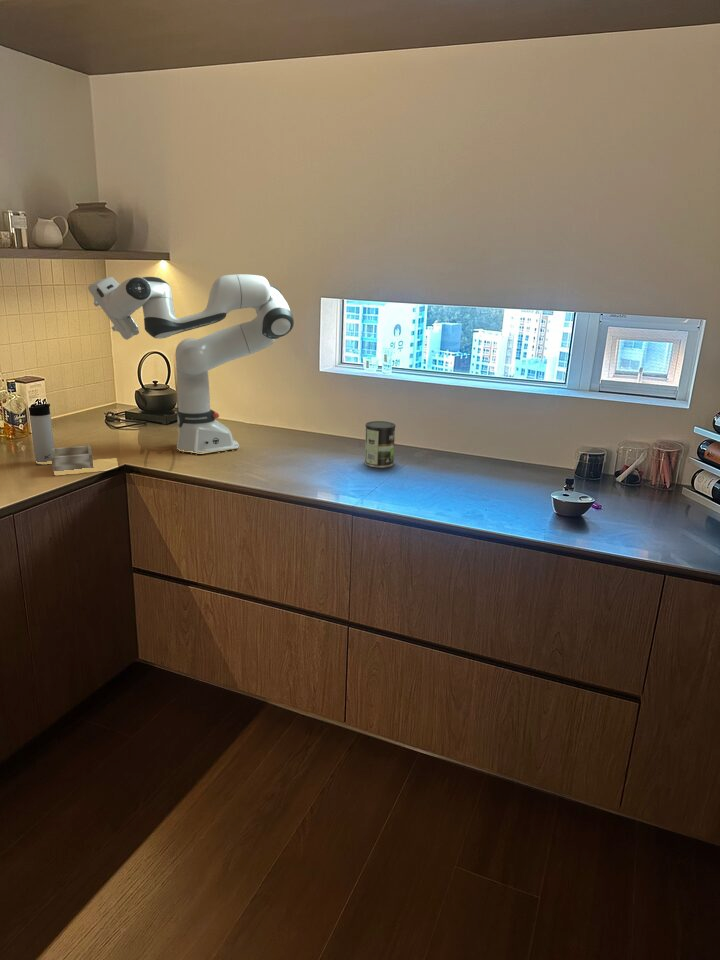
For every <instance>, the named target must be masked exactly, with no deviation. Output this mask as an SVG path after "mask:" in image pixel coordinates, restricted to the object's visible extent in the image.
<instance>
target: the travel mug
mask: <svg viewBox="0 0 720 960" xmlns="http://www.w3.org/2000/svg"><path fill="white" fill-rule="evenodd" d="M50 407H51V403H39V404H34V405H32V406H29V407H28V412H29V415H28V416H29V422H30V430H31V438H32V444H33V452H34V458H35V461H37V462H47V461H52V460H51V449H52V448H55V441H54V440H55V439H54V433H53V432H54V431H53V423H52V416H51V411H50V410H51V409H50Z"/></svg>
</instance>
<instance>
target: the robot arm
mask: <svg viewBox="0 0 720 960" xmlns="http://www.w3.org/2000/svg"><path fill="white" fill-rule="evenodd" d="M87 289H88V292H89V293H90V294H91V295H92V298H93V300H94V301H93V305H94V306H95V307H100V308H101V309H102V310H103V312H104V314H106V316H107V318H108V319H109V320H110V321H111V323H112V325H113V326H112V327H111V330H112V332H117V333H119V334H120V336H121V337H122V339H124V340H126V341H128V340H129V339H131V338H132V337H134V336H138V335H139V334H140V330H139V329H140V328H139V326H138V323H136V321H135V320H134V318H133V317H132V315H133V314H134V313H135V312H136V311H138V310H140V308H142V313H143V322H144V331H145V332H146V333H147V334H148V335H150V336H151V337H152V338H153V339H158V340H161V339H166V338H169V337H172V336H174V335H178V334H180V333H183V332H188V331H191V330H194V329H198V328H203V327H206V326H210V325H213V324H216V323H218V322H221V321H223V320H224V319H225V318H226V317H227V314H228V313H230V312H232V311H234V310H240V309H248V308H251V309H255V310H254V311H255V312H256V317H254V318H253V319H252V320H250V321H246V322H243V323H239V324H236V325H232V326H230V327H226V328H223V329H219V330H218V331H215V332H213V333H211V334H208V335H206V336H202V337H201V338H198V339H196V338H191V337H190V338H184V339H183V340H181V341H180V342H179V343H178V344H177V346H176V348H175V353H174V354H175V355H174V356H175V357H174V358H175V367H176V368H175V369H176V389H177V391H176V392H177V406H178V409H177V412H176V413H177V414H176V416H177V417H176V418H177V425H178V436H177V441H176V442H177V443H176V447H177V448H178V449H180V450H184V451H193V452H197V453H203V452H202V451H205V452H210V451H218V450H226V449H234V448H238V447H239V448H240V444H239V442H238V441H237V440H235V439H234V438H233V434H232V432H231V429H229V427H227V426H225V424H223V423H221V421H219V420H217V419H219V417H220V414H219V413H218V412H217V411H215V410H213V409H211V401H210V400H211V399H210V385H209V384H210V381H209V371H210V370H212V369H214V368H217V367H220V366H221V365H224V364H226V363H228V362H231V361H235V360H237V359H240V358H243V357H247V356H249V355H253V354H255V353H257V352H260V351H262V350H264V349H266V348H268V347H270V346H272V345H273V343H274V342H275V341H276V340H277V339H280V338H282V337H284V336H286V335H288V334H289V333H290V332H291V331H292V330H293V328H294V323H295V321H294V315H293V312H292V311H291V309H290V306H289V303H288V302H287V301H286V299H285V298H284V296H283V294H282V292H281V290H279V289H278V287H276V286H275V285H273V284H271V283H269V280H268V279H267V278H266V277H265V276H262V275H258V274H246V273H243V274H242V273H241V274H240V273H239V274H235V273H234V274H225V275H222V276H219V277H218V278H216V279H215V281H213V284H212V285H211V287H210V291H209V296H208V300H207V304H206V307H205V308H204V310H202V311H201V312H198V313H195V314H191V315H186V316H183V317H177V316H176V312H175V307H174V299H173V293H172V288H171V285H170V284H169V283H168V282H167V281H166V280H165V279H162V278H161V277H157V276H143V277H142V276H133V277H129V278H127V279H126V280H124V281H122V282H121V283H119V282H118V281H117V280H116V279H115V278H114V277H113V276H108V277H106V278H101V279H98V280H97V281H95V282H92V283H91V284H89V285H88V286H87Z"/></svg>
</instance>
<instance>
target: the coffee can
mask: <svg viewBox="0 0 720 960" xmlns="http://www.w3.org/2000/svg"><path fill="white" fill-rule="evenodd" d="M395 435H396V424H395V423H393V422H391V421H390V422H389V421H385V420H384V421H383V420H374V421H368V422H366V423H365V442H364V443H365V445H364V447H365V448H364V465H365V466H367V467H371V468H379V469H380V468H382V469H383V468H390V467H392V466H394V465H395V464H394V461H395V460H394V459H395V458H394V456H395V455H394V454H395V439H396V438H395Z"/></svg>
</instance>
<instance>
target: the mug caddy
mask: <svg viewBox="0 0 720 960" xmlns="http://www.w3.org/2000/svg"><path fill="white" fill-rule="evenodd" d="M93 459H94V458H93V452H92V447H91V445H81V446H67V447H54V448H52V449H51V460H52V464H51V467H52V473H53V472H54V471H64V470H74V469H82V468H94V467H93Z"/></svg>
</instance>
